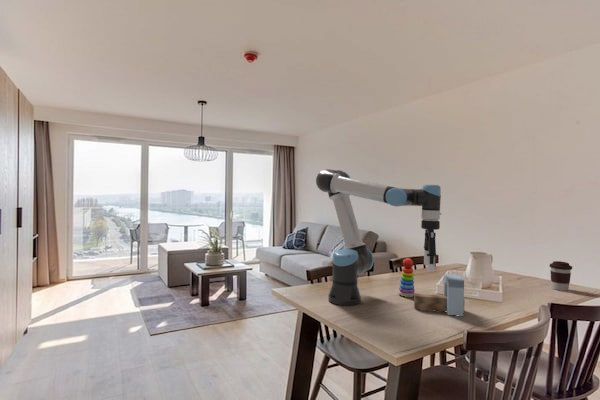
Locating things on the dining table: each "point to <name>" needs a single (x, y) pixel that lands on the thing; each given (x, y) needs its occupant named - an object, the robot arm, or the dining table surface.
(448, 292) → the light blue arch block
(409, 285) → the stacking toy
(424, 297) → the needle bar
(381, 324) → the dining table surface
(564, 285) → the coffee cup
